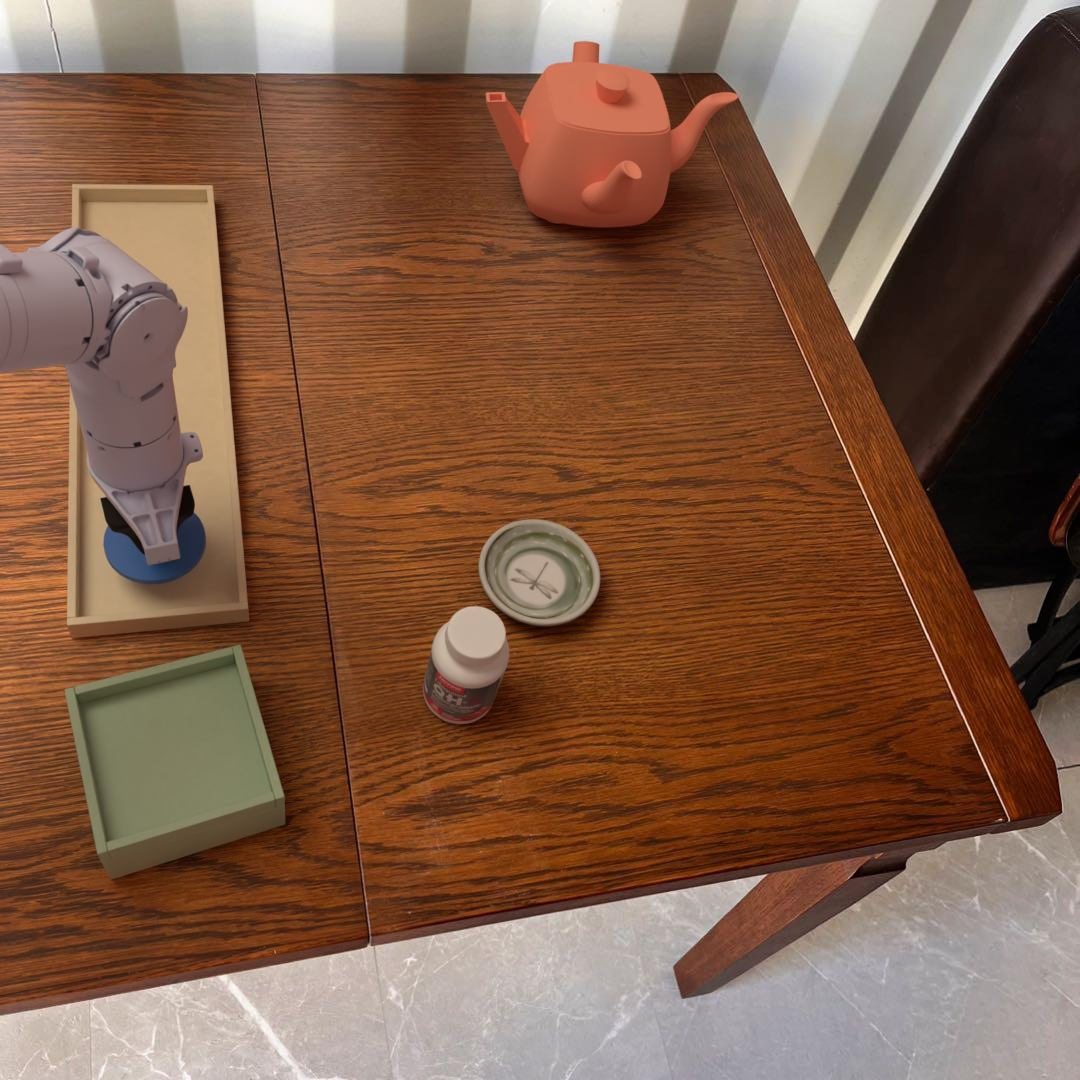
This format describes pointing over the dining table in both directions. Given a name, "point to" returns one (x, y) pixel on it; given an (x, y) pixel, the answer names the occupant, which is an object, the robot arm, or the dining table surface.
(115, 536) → the blue lid
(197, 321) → the tray
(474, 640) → the pill bottle
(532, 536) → the saucer
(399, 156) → the dining table surface
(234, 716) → the green square tray
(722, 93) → the teapot
